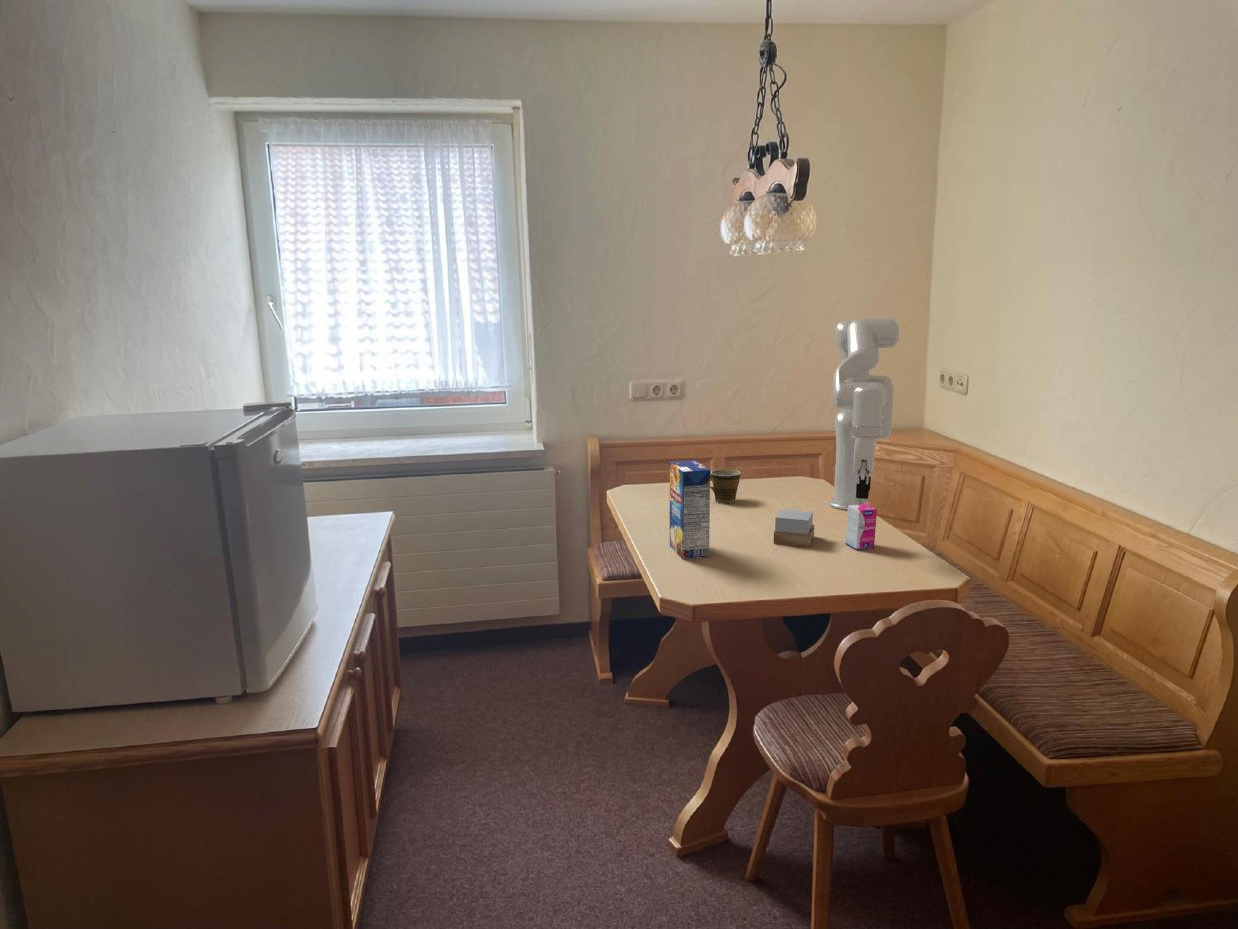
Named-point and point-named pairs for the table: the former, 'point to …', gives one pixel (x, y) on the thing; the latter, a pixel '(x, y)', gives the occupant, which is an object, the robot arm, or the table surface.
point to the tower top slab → (794, 521)
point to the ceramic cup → (725, 484)
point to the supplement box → (861, 526)
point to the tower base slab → (794, 538)
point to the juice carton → (689, 509)
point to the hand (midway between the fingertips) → (863, 494)
